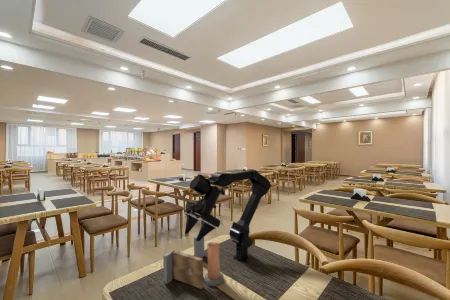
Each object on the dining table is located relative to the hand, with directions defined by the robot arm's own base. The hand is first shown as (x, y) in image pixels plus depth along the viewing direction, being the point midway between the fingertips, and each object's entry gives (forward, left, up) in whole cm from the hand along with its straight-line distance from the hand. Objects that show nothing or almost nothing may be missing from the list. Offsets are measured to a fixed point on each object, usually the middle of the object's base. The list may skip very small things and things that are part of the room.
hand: (191, 237), depth 83 cm
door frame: (-4, -7, -16) cm, 17 cm away
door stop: (-3, +8, -16) cm, 18 cm away
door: (+4, 0, -15) cm, 16 cm away
